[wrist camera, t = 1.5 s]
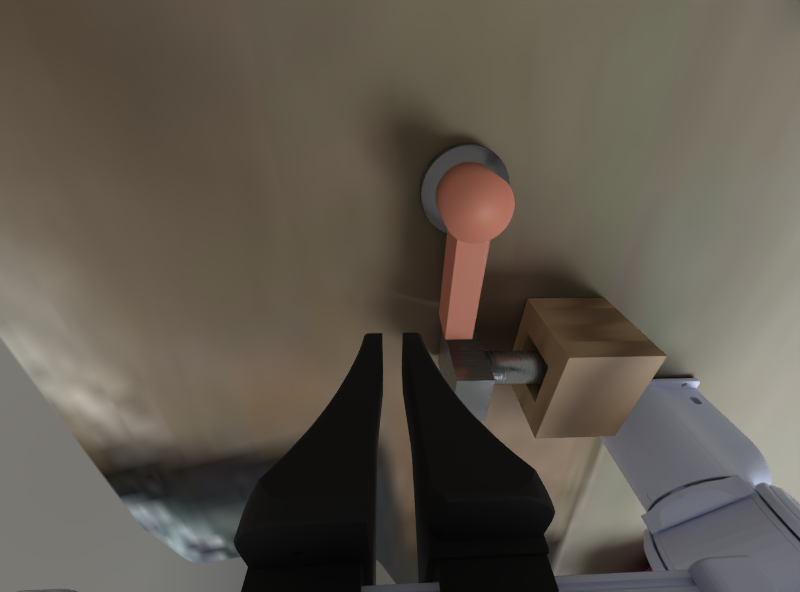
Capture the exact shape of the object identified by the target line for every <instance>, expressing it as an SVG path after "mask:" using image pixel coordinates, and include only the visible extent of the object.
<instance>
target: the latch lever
mask: <svg viewBox="0 0 800 592" xmlns="http://www.w3.org/2000/svg"><path fill="white" fill-rule="evenodd" d="M435 200H436V205H437V208H438V210H439V212H440V215H441V217H442V219H443V221H444V223H445V225H446V227H447V239H446V249H445V259H444V268H443V278H442V288H441V298H440V307H439V317H440V321H441V325H442V329H443V333H444V337H445V340H451V339H472V337H473V332H474V326H475V321H476V316H477V310H478V305H479V299H480V294H481V288H482V283H483V277H484V272H485V267H486V261H487V256H488V250H489V245H490V240H491V239H493V238H495V237H496V236H498V235H499V234H500V233H501V232H502V231H503V230H504V229H505V228H506V227H507V225H508V224H509V222H510V220H511V218H512V216H513V212H514V207H515V200H514V194H513V191H512V189H511V187H510V186H509V184H508V183H507V182H506V181H505V180H504V179H502V178H501V177H499V176H498V175H497V174H495V173H494V172H492V171H491V170H490V169H488V168H487V167H485V166H484V165H482V164H480V163H476V162H463V163H460V164H457V165H455V166H453V167H452V168H450V169H449V170H448V171H447V172H446V173H445V174H444V175H443V176H442V178H441V179H440V181H439V183H438V185H437V189H436V194H435Z"/></svg>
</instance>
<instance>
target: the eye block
mask: <svg viewBox="0 0 800 592" xmlns="http://www.w3.org/2000/svg"><path fill="white" fill-rule="evenodd" d="M527 350H538V351H539V352H540V354H541V356H542V357H543V359H544V361H545V362H546V364H547V366H548V370H547V373H546V375H545V378H544V380H543V383H534V384H512V387H513V389H514V391H515V393H516V396H517V398H518V400H519V403H520V405H521V407H522V409H523V412H524V414H525V416H526V419H527V421H528V423H529V425H530V428H531V430H532V432H533V434H534V437H535V438H565V437H597V436H615V435H616V434H617V432H618V431H619V429H620V428H621V426H622V425H623V423H624V421H625V420H626V418H627V417H628V415H629V414H630V412H631V411H632V409H633V408H634V406H635V405H636V403H637V402H638V400H639V398H640V397H641V395H642V394H643V392H644V391H645V389H646V388H647V386H648V385H649V383H650V382H651V380H652V379H653V377H654V375H655V374H656V372H657V371H658V369H659V368H660V366H661V365H662V363H663V362H664V360H665V359H666V357H667V355H666V354H665V353H663V352H662V351H661V350H660V349H659V348H658V347H657V346H656V345H655V344H654V343H653V342H652V341H650V340H649V339H648V338H647V337H646V336H645V335H644V334H643V333H642V332H641V331H640V330H639V329H637V328H636V327H635V326H634V325H633V324H632V323H631V322H630V321H629V320H628V319H627V318H626V317H624V316H623V315H622V314H621V313H620V312H619V311H618V310H617V309H616V308H615V307H614V306H613V305H611V304H610V303H609V302H608V301H607V300H606V299H605V298H604V297H603V298H527V301H526V305H525V308H524V312H523V316H522V319H521V323H520V326H519V330H518V333H517V337H516V340H515V344H514V347H513V351H527Z"/></svg>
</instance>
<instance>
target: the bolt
mask: <svg viewBox="0 0 800 592" xmlns="http://www.w3.org/2000/svg"><path fill="white" fill-rule="evenodd" d="M438 363H439V368H440V373H441V374H442V376H443V377H444V379H445V380H446V382H447V383H448V384H449V386H450V387H451V389H452V390H453V391H454V393H455V394H456V395H457V396H458V398H459V399H460V400H461V401H462V402H463V404H464V405H465V406H466V407H467V408H468V409H469V410H470V412H471V413H472V414H473V415H474V416H475V417H476V418H477V419H478V420H479V421H480V420H485V417H486V414H487V410H488V406H489V402H490V398H491V394H492V391H493V387H494V384H534V383H543V380H544V378H545V375H546V373H547V370H548V366H547V364H546V362H545V361H544V359H543V357H542V356H541V354H540V352H539V351H538V350H527V351H484V350H483V348H482V345H481V343H480V340H479V337H478V335H477V332H476V330H475V327H474V332H473V337H472V339H451V340H445V337H444V333H443V329H442V331H441V340H440V349H439V358H438Z"/></svg>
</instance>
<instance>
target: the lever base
mask: <svg viewBox="0 0 800 592" xmlns="http://www.w3.org/2000/svg"><path fill="white" fill-rule="evenodd" d="M463 162H476V163H480V164H482V165H484V166H485V167H487V168H488V169H490V170H491V171H492V172H494V173H495V174H497V175H498V176H499V177H501V178H502V179H504V180H505V181H506V182H507V183H508V184H509V176H508V173H507V170H506V167H505V165H504V164H503V162H502V160H501V159H500V158H499V157H498V156H497V155H496V154H495V153H494V152H492V151H490V150H489V149H487V148H485V147H482V146H480V145H476V144H469V143H467V144H459V145H455V146H452V147H449V148H448V149H446V150H444V151H442V152H441V153H439V154H438V155H437V156H436V157H435V158H434V159H433V160H432V161H431V163H430V164H429V165H428V167H427V169H426V171H425V173H424V175H423V178H422V181H421V187H420V198H421V203H422V206H423V209H424V212H425V214H426V216H427V218H428V219H429V221H430V222H431V223H432V224H433V225H434V226H435V227H436V228H438V229H439V230H441V231H443V232H445V233H447V227H446V225H445V223H444V221H443V219H442V217H441V215H440V212H439V210H438V208H437V205H436V200H435V194H436V189H437V185H438V183H439V181H440V179H441V178H442V176H443V175H444V174H445V173H446V172H447V171H448V170H449V169H450V168H452V167H453V166H455V165H457V164H460V163H463Z"/></svg>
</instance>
